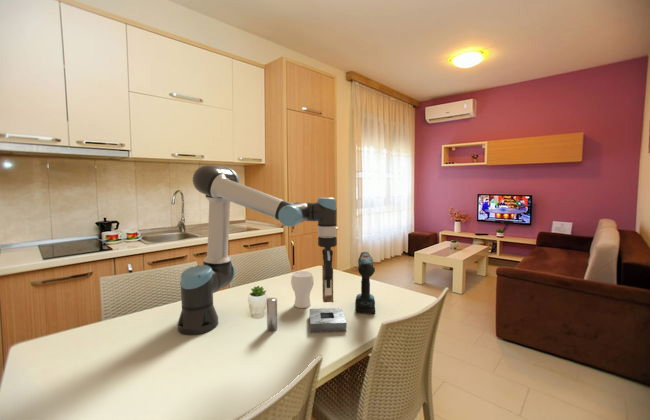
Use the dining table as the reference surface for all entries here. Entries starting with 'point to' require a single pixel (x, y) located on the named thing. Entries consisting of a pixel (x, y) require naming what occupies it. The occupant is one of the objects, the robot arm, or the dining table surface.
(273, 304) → the round bit
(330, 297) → the square bit
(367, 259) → the power drill
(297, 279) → the cup
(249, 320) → the dining table surface
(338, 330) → the socket block
